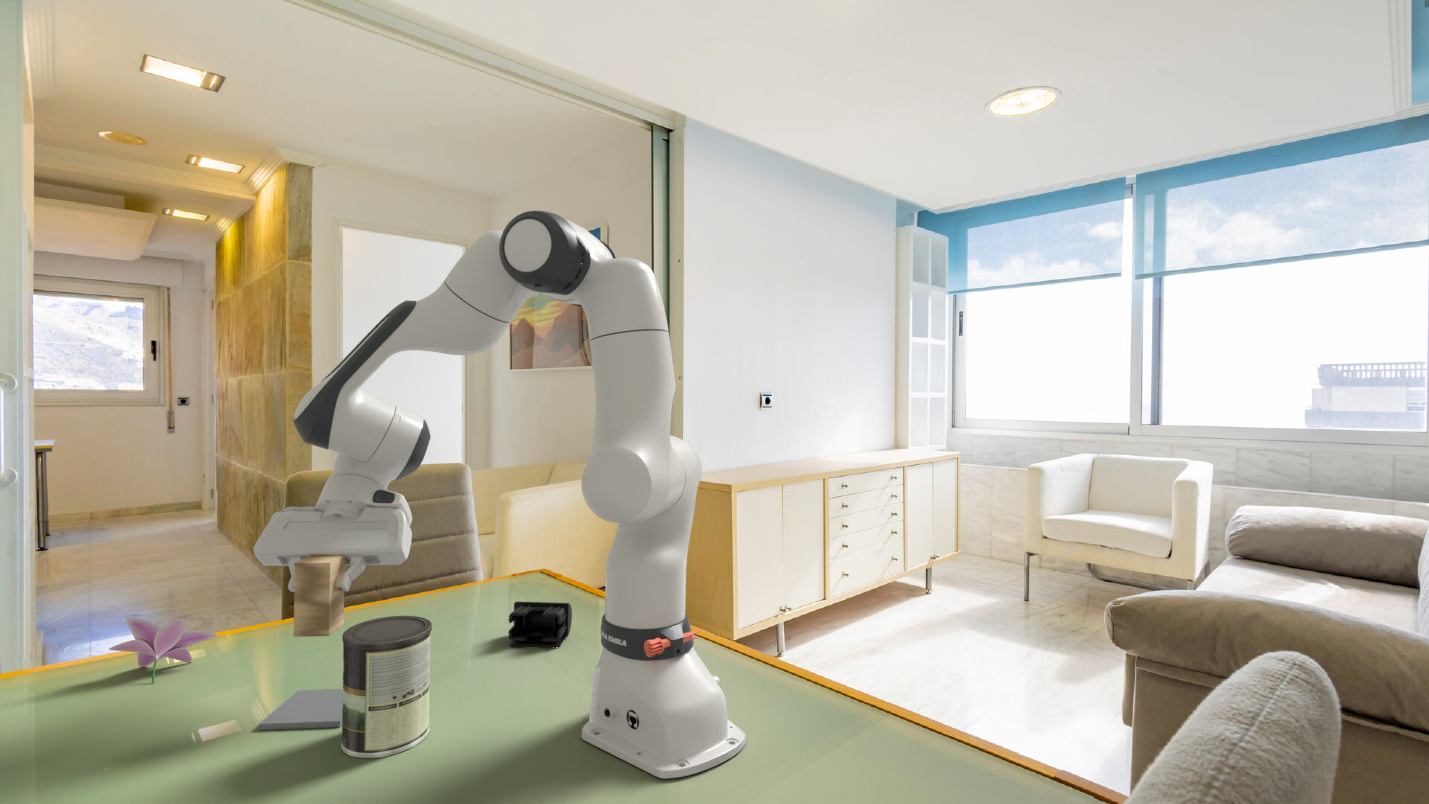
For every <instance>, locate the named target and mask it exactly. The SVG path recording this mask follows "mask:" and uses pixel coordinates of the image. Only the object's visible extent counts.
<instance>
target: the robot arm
mask: <svg viewBox="0 0 1429 804" xmlns="http://www.w3.org/2000/svg"><path fill="white" fill-rule="evenodd" d="M447 274H448V275H447V276H446V277H445V279H444V280H443V282H442V283H441V284H440V285H439V287H438V288H436V290H435V291H433V292H432V293H430V294H429V295H427V296H426V297H423V298H421V299H419V300H404V301H402V302H401V303H399V304H398V305H396V306H395V307H394V308H393V309H391V310H390V311H389V312H388V313H387V314H386V315H385V316H384V317H383V318H382V319H380V321H379V322H378V323H377V324H376V325H375V326H373V328H372V329H371V330H370V331H369V332H368V333H367V334H366V335H365V336H364V337H363V338H362V339H361V340H360V341H359V342H358V343H357V345H355V347H354V348H352V350H351V351H350V352H349V353H348V354H347V355H346V356H345V357H344V358H343V359H342V360H341V361H340V362H339V364H337V366H335V368H334V369H333V370H331V372H329V373H328V374H327V375H326V376H325V377H324V378H323V379H322V380H321V381H320V382H318V383H317V384H316V385H314V387H312V388H311V389H310V390H308V392H307V393H306V394H305V395H304V396H303V397H302V398H301V400H300V401H299V403H298V405H297V407H296V410H295V411H294V416H293V419H292V421H293V425H294V426H295V429H296V431H297V433H298V434H299V436H300V438H301V440H302V441H303V442H304V443H305V444H309V445H311V446H315V447H318V448H321V449H324V450H331V451H334V452H336V453H337V456H336V458H335V461H334V465H333V472H332V474H331V475H330V476H329V477H328V478H327V479H326V481H325V484H324V486H323V489H321V493H320V495H319V497H318V499H317V502H316V503H315V505H313V506H292V505H291V506H287V507H285V508H284V509H280V510H279V511H277V512H274V513H273V514H272V516H271V517H270V520H269V522H268V524H267V525H266V527H265V528H264V529H263V531H262V533H261V534H260V536H259V537H258V539H257V541H256V542H255V544H254V546H253V548H252V549H253V553H254V556H255V557H256V559H257V560H258V561H259V562H260V563H261V565H262V566H266V567H278V566H279V567H284V566H285V567H286V566H287V567H288V569H289V572H290V575H291V577H290V580H289V582H288V585H287V588H288V590H289V591H290V593H291V592H292V593H294V591H295V563H296V562H298V561H300V560H302V559H304V558H307V557H309V556H345V566H350V567H349V568H348V569H347V570H346V571H345V573H344V575H337V577H336V581H335V583H334V588H335V589H336V591H344V592H349V590H350V588H351V585H352V582H354V580H356V579H357V578H358V577H359V576H360V575H361V574H362V573H364V572H365V569H366V566H399V565H402V564H403V563H404V562H406V560H407V559H408V557H409V554H410V550H411V548H412V547H411V545H412V538H413V531H412V529H411V524H412V523H413V522H412V521H413V515H412V511H411V508H410V505H409V503H408V502H407V499H406V498H405V496H404V495H403V494H401V493H399V492H396V491H391V490H388V486H389V485H390V483H391V482H392V481H399V480H401V479H403V478H405V477H407V476H409V475H411V474H413V473H415V471H417V470H418V469H419V467H420V466H421V464H422V462H424V461H423V460H425V459H424V458H425V456H426V454H427V450H428V447H429V444H430V441H431V433H430V432H431V431H430V428H429V425H428V423H427V422H426V420H425V419H424V418H422V417H421V416H419V415H417V414H415V413H413V412H410V411H408V410H406V409H404V408H401V407H400V406H397V405H394V404H392V403H389V402H387V401H384V400H383V399H380V398H378V397H376V396H374V395H371V394H370V393H366V392H365V391H363V390H362V389H361V387H362V386H363V385H364V383H366V381H368V380H369V379H370V377H371V376H373V374H375V372H377V370H378V369H379V368H380V367H381V366H382V365H383V364H384V363H385V361H386V360H387V359H389V358H390V357H391V356H393V355H395V354H398V353H400V352H406V351H420V352H421V351H424V352H433V353H439V354H444V355H445V354H446V355H453V356H468V355H475V354H479V353H482V352H486V351H487V350H489V349H491V348H492V347H493V346H494V345H495V344H497V342H498V341H499V340H500V339H501V338H502V337H503V335H504V334H505V333H506V331H507V330H508V329H509V327H510V325H511V324H512V322H513V321H514V319H515V318H516V316H517V315H518V313H519V312H520V310H521V308H522V307H523V306H524V304H525V303H527V302H528V300H529V299H530V298H532V297H533V296H537V295H540V294H541V295H544V296H546V297H547V298H549V299H551V300H554V301H555V302H560V303H563V304H569V305H573V306H576V307H582V309H583V311H584V314H585V318H586V321H587V322H586V323H587V329H588V337H589V346H590V354H591V355H590V356H591V357H590V358H591V363H592V364H591V365H592V372H593V379H594V381H593V382H594V390H595V415H594V427H593V437H592V445H591V452H590V456H589V459H588V460H587V462H586V464H585V466H584V469H583V471H582V475H581V481H580V483H581V485H580V486H581V491H582V492H581V493H582V496H583V498H584V500H585V503H586V505H587V507H589V508H588V509H590V511H591V512H592V513H593V514H595V515H596V516H597V517H598V518H600V519H602V520H604V521H606V522H610V523H615V524H617V529H616V532H615V536H614V539H613V542H612V544H611V547H610V550H609V552H608V554H607V557H606V561H605V585H604V586H605V590H604V591H605V592H604V599H605V600H604V603H605V604H604V614H603V615H602V617H601V624H600V643H601V646H602V647H603V648H602V652H601V655H600V659H599V660H598V662H597V665H596V667H595V669H594V671H593V679H592V688H591V697H590V705H589V707H590V708H589V716H588V721H587V722H586V723H585V725H584V726H582V729H581V739H582V740H584V741H586V742H587V743H589V744H591V745H593V746H595V747H597V748H599V749H601V750H603V751H605V752H607V753H609V754H611V755H613V756H614V757H617V758H619V759H621V760H623V761H625V762H627V763H629V764H631V765H633V766H635V767H636V768H638V769H641V770H643V771H645V772H646V773H649V774H651V775H652V776H654V777H656V778H660V779H675V778H682V777H683V778H684V777H687V776H691V775H694V774H698V773H700V772H703V771H706V770H708V769H711V768H713V767H715V766H718V765H720V764H722V763H724V762H726V761H728V760H729V759H731V758H733V757H734V756H735V755H737V754H738V753H740V751H741V750H742V749H744V747H745V746H746V744H747V743H746V742H747V738H746V737H747V736H746V733H745V732H744V731H743V730H742V729H741V728H739V727H738V726H737V725H736V724H734V723H733V722H732V721H731V720H730V719H729V718H728V709H727V708H728V707H727V700H726V697H725V694H724V693H725V692H724V691H723V690H722V689H723V688H722V683H721V680H720V678H719V677H718V676H717V675H713V674H711V671H709V669H708V668H707V666H706V664H705V663H704V662H703V660H702V659H701V657H700V656H699V654H698V653H697V652H696V650H695V648H694V640H696V639H698V636H695V635H696V634H697V633H698V632H699V631H698V630H692V629H691V628H692V627H691V623H690V620H689V615H688V614H687V613H686V597H687V596H686V593H687V591H686V587H687V586H686V585H687V560H688V551H689V544H690V538H691V533H692V527H693V522H694V516H695V508H696V503H697V502H696V501H697V493H698V488H699V484H700V481H701V479H702V478H701V477H702V474H703V473H702V472H703V468H702V467H703V466H702V461H701V458H700V456H699V454H698V451H696V449H695V448H694V447H693V446H692V445H691V444H690V443H688V442H687V441H686V440H683V439H681V438H679V437H677V436H674V435H671V424H672V408H673V401H674V396H675V394H676V391H677V390H676V389H677V388H676V387H677V384H676V378H675V371H674V370H675V368H674V361H673V355H672V347H671V339H670V338H671V337H670V333H669V325H668V319H667V315H666V311H665V305H664V301H663V297H662V295H661V291H660V287H659V284H658V282H657V279H656V275H655V274H654V271H653V270H652V268H651V267H650V266H649V265H648V264H647V263H645V262H643V261H641V260H639V259H636V258H633V257H632V258H631V257H617V255H616V253H615V252H614V250H612V248H611V247H610V246H609V245H608V244H607V243H606V242H605V241H602V240H601V239H598V238H597V237H596V236H595V235H593V234H592V233H590V232H589V230H587V229H586V228H585V227H583V226H580V225H579V224H577V223H575V222H573V221H571V220H568V219H566V218H564V217H563V216H561V215H559V214H556V213H555V212H554V213H553V212H550V211H544V210H530V211H524V212H522V213H520V214H518V215H516V216H515V217H513V218H512V219H510V221H508V223H507V225H506V226H505V227H504V229H503V230H499V229H497V230H489V231H487V232H484V233H483V234H482V235H480V236H479V237H478V238H477V239H476V240H475V241H474V242H473V244H471V246H470V247H469V248H468V249H467V250H465V252H464V254H463V255H462V256H461V257H460V258H459V259H458V261H457V262H456V263H455V264H454V265H453V267H452V268H451V270H450V271H449V273H447Z"/></svg>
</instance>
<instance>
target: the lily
mask: <svg viewBox="0 0 1429 804" xmlns="http://www.w3.org/2000/svg"><path fill="white" fill-rule="evenodd" d="M125 621H126V624H127V626H128V628H129V630H130V632H131V634H132V636H133V638H134V639H131V640H126V641H124V642H121V643H118V644H116V645H113V646H112V647H110V648H108V650H109V651H117V652H129V653H137V664H138V665H137V666H138V667H139V668H145V667H148V666H150V665H152V664H153V667H152V668H153V669H152V676H151V684H152V683H153V684H155V676H156V668H157V663H158V661H159V660H161V659H163V658H169V659H172V660H176V661H180V662H184V663H187V662H190V661H192V662H193V658H192V655H191V653H190V651H189V650H188V649H187V648H190V647H191V646H194V645H197V644H199V643H201V642H202V643H203V642H205V641H208V640H211V639H214V638H217V636H218V634H217V633H214V632H210V631H203V630H191V629H189V630H185V621H184V619H183V618H179V619H175V620H173V621H171V622H169V623H167V624H165V625H163V626H161V625H159V624H158V623H155V622H152V621H149V620H145V619H143V618H137V617H127V618H126V619H125Z"/></svg>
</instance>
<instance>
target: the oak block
mask: <svg viewBox="0 0 1429 804" xmlns="http://www.w3.org/2000/svg"><path fill="white" fill-rule="evenodd" d="M345 568H346V565H345V556H309V557H307V558H304V559H302V560H300V561H298V562H296V563H295V591H294V592H293V593H294V594H293V595H294V596H293V597H294V599H293V600H294V601H293V603H294V605H293V638H301V637H303V638H304V637H305V638H306V637H330V636H331V635H333V634H334V633H335V632H336V631H337V630H339V629H340V628H341V627H343V626H344V625H345V624H344V621H345V619H344V617H345V615H344V614H345V591H336V589H335V588H334V583H335V581H336V577H337V575H344V573H345V572H346V571H345V570H346V569H345Z"/></svg>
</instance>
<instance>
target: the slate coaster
mask: <svg viewBox="0 0 1429 804" xmlns="http://www.w3.org/2000/svg"><path fill="white" fill-rule="evenodd" d="M342 711H343V688H328V689H327V688H325V689H301V690H300V689H298V690H296V692H294V693H293V694H292V695H291V696H290V697H289V698H288V699H286V700H285V701H284V702H283V703H282V704H281V705H280V706H278V707H277V708H276V709H275V710H273V712H271V713H270V714H269V715H268V716H267V717H266V718H265V719H263V720H262V721H261V722H259V723H258V731H269V730H270V731H271V730H296V729H320V728H321V729H323V728H340V727H342Z"/></svg>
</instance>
